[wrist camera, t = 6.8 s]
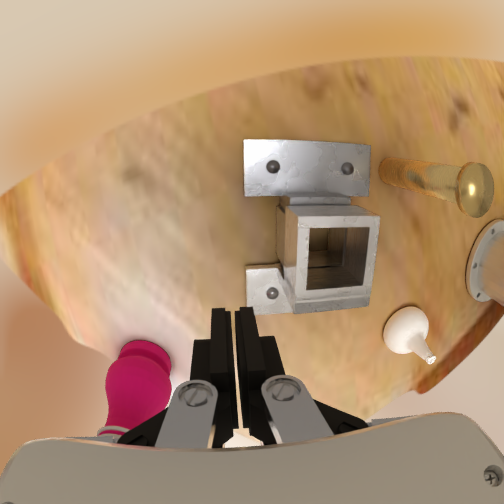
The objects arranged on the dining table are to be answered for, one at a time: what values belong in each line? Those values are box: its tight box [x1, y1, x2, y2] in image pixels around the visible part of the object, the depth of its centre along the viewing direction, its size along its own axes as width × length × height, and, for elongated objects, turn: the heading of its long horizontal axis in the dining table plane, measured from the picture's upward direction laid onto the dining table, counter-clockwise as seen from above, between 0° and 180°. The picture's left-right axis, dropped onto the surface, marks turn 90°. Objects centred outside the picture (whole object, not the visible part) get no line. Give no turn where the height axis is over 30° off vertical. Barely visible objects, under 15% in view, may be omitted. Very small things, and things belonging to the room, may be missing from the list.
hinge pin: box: [379, 158, 494, 218], centre depth 21 cm, size 4×4×13 cm
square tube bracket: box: [246, 205, 380, 315], centre depth 25 cm, size 12×12×8 cm
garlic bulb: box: [383, 307, 436, 364], centre depth 31 cm, size 6×6×8 cm
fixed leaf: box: [243, 140, 371, 269], centre depth 26 cm, size 12×11×4 cm
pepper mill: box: [97, 340, 172, 439], centre depth 22 cm, size 7×7×20 cm
